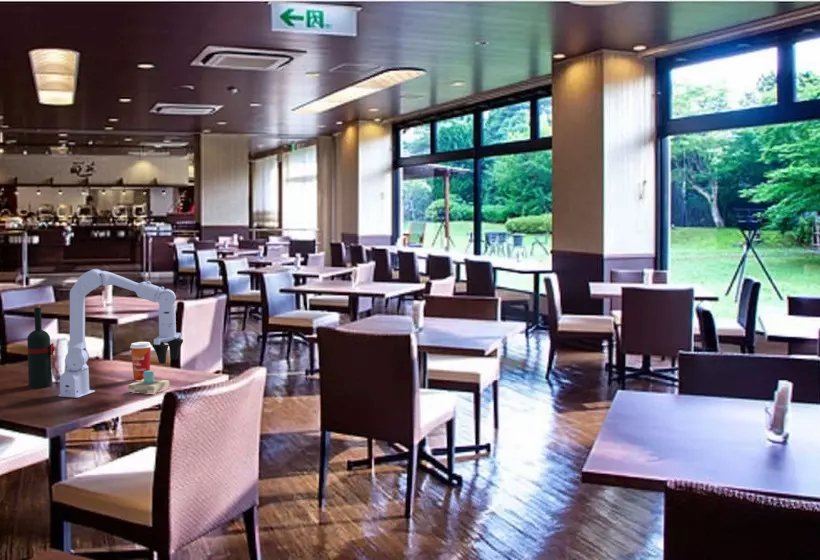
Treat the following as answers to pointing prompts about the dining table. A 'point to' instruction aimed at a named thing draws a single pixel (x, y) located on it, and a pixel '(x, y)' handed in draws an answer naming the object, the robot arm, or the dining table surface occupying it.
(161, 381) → the socket block
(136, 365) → the paper cup
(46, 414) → the dining table surface
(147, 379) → the peg
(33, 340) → the wine bottle
